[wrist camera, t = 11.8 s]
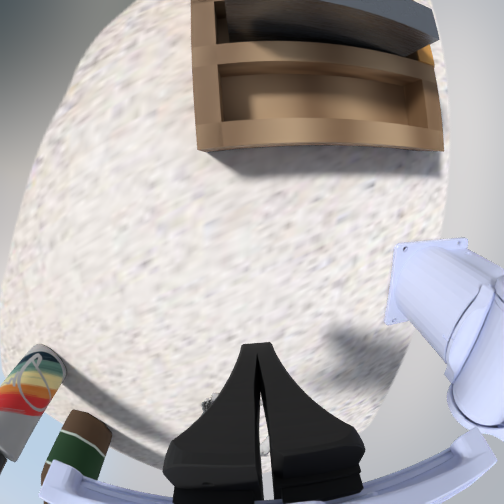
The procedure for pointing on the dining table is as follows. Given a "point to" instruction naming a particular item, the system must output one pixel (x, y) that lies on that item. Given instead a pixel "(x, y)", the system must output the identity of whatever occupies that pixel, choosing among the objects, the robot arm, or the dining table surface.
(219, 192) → the dining table surface
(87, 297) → the dining table surface
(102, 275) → the dining table surface
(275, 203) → the dining table surface
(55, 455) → the beer bottle
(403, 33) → the panel
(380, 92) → the rack
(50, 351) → the lotion bottle
